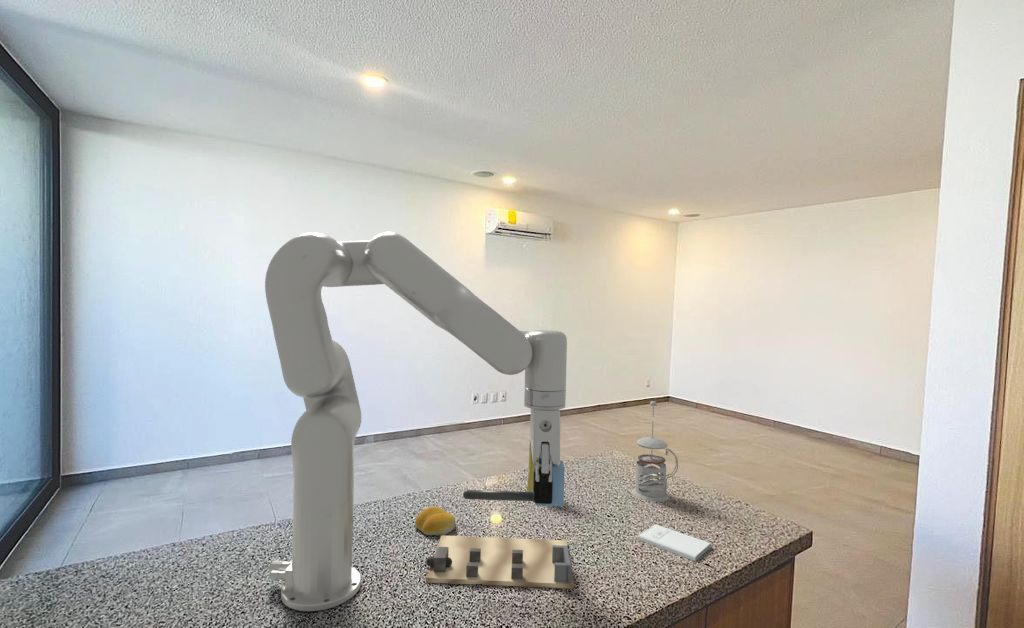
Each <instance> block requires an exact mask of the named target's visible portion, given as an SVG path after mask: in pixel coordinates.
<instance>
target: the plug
mask: <svg viewBox="0 0 1024 628" xmlns="http://www.w3.org/2000/svg"><path fill="white" fill-rule="evenodd" d="M539 463H541V460H539ZM540 469H541V467H539V470H540ZM535 480H536V475H535ZM552 481H553V486H552V503H551V504H539V503H535V502H534V492H527V491H515V490H514V491H513V490H512V491H510V490H508V491H507V490H487V489H486V490H485V489H484V490H482V489H481V490H480V489H479V490H478V489H465V490H464V491H463V493H462V497H463V498H464V500H478V501H479V500H481V501H483V500H484V501H485V500H486V501H511V502H512V501H514V502H534V504H535V506H540V507H541V506H542V507H564V503H565V501H564V499H565V497H564V495H565V464H564V461H563V460H562V459H560V465H559V466H557V465H556V464H554V463H553V461H552Z"/></svg>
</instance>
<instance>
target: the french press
mask: <svg viewBox="0 0 1024 628" xmlns="http://www.w3.org/2000/svg"><path fill="white" fill-rule="evenodd" d="M649 406H651V407H652V416H654V412H655V411H654V408H655V407H657V406H658V404H657V401H653V400H651V401H650V403H649ZM651 434H652V435H651V436H646V437H641V438H639V439H637V440H636V444H637V445H638V446H639V447H641V448H643V449H649V450H664V449H665V455H666V456H668V455H669V452H670V453H671V454H672V455H673V456H674V458H675V466H674V468H673V471H672V472H670V473H669V474H667V465H666V463H665V462H666V459H665V457H663V456H660V455H657V454H653V451H651V452H650V453H651V454H649V453H647V454H646V453H645V454H639V455H637V459H638V461H636V467H635V468H636V469H635V470H636V471H635V472H636V474H635V488H633V490H632V491H631V494H632V495H633V496H634V497H635V498H637V499H640V500H643V501H645V502H646V501H648V502H651V503H653V502H654V503H655V502H656V503H657V502H660V503H661V502H665V501H668V500H669V499H670V495H669V494H668V492H667V489H668V488H667V485H668V479H669V478H673V476H675V474H676V473H677V471H678V469H679V460H678V457H677V455H676V454H675V452H673V451H672V450H671V449H670V448H668V446H669V444H668V443H667V442H666V441H665V440H663V439H661V438H659V437H655V436H654V422H652V429H651ZM648 465H649V466H648ZM654 465H656V466H658V467H656V466H654ZM659 467H660V468H659ZM653 474H654V475H653ZM644 476H645V477H644ZM654 479H655V480H654Z"/></svg>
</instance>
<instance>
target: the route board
mask: <svg viewBox="0 0 1024 628" xmlns="http://www.w3.org/2000/svg"><path fill="white" fill-rule="evenodd" d="M553 545H560V546H567V547H568V544H567V539H566V540H561V539H544V538H543V539H540V538H515V537H514V538H513V537H495V536H494V537H492V536H491V537H489V536H468V535H465V536H463V535H462V536H461V535H440V539H439V542H438V544H437V546H436V549H435V552H434V555H433V556H429V557H427V558H426V561H425V565H426V566H428V567H429V569H428V571H427V574H426V578H425V582H426V583H428V584H429V583H430V584H431V583H435V584H454V585H476V584H482V585H481V586H483V585H484V586H502V587H505V586H506V587H527V588H548V589H549V588H551V589H552V588H553V589H575V581H574V576H573V571H572V569H571V578H570V582H554V566H555V563H552V546H553Z"/></svg>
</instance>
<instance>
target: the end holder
mask: <svg viewBox="0 0 1024 628" xmlns="http://www.w3.org/2000/svg"><path fill="white" fill-rule="evenodd" d="M552 563H555V566H554V582H570V578H571V570H572V563H571V558H570V553H569V548H568V545H567V546H560V545H553V546H552Z"/></svg>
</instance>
